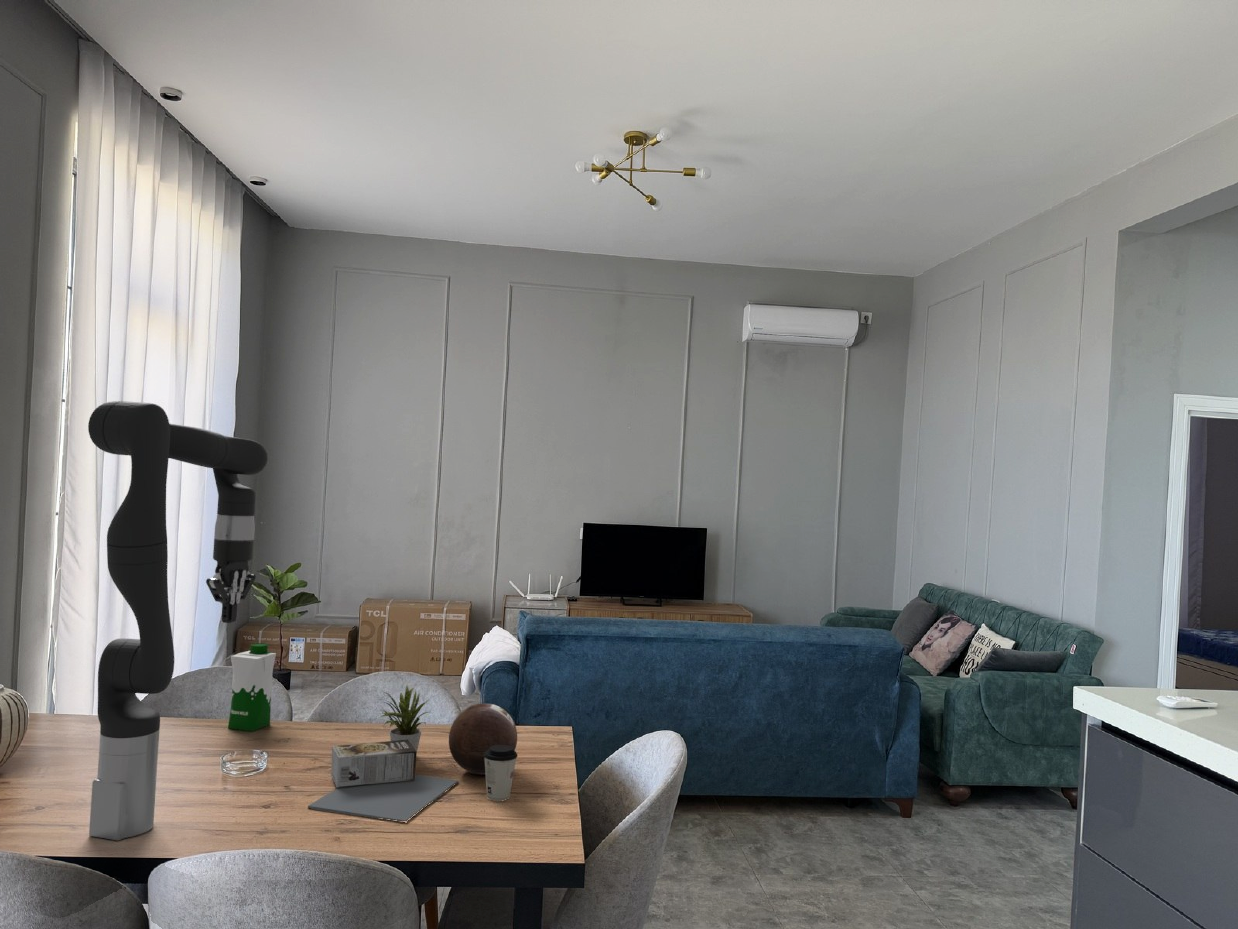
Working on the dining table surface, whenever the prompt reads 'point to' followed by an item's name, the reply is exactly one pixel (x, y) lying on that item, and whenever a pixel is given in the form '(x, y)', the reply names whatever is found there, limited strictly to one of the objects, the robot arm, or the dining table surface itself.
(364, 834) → the dining table surface
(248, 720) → the milk carton
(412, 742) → the house plant
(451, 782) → the rubber mat
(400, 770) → the coffee box
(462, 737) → the wooden sphere
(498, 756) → the coffee cup
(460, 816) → the dining table surface
